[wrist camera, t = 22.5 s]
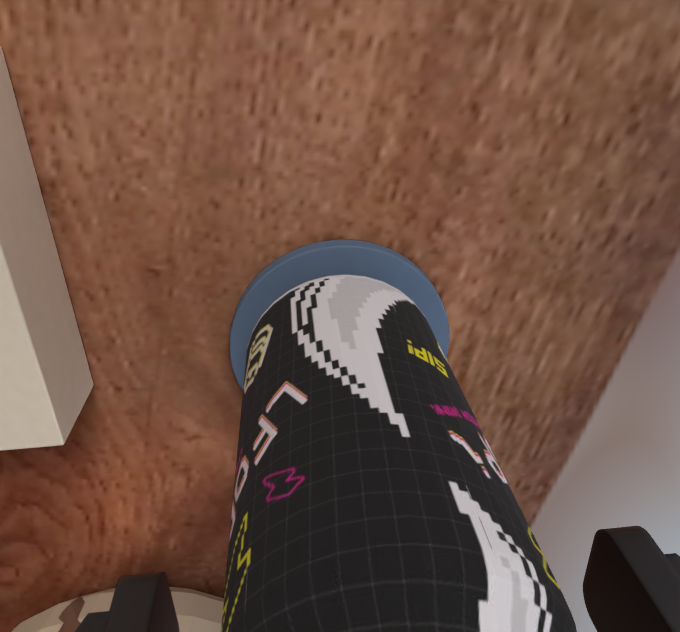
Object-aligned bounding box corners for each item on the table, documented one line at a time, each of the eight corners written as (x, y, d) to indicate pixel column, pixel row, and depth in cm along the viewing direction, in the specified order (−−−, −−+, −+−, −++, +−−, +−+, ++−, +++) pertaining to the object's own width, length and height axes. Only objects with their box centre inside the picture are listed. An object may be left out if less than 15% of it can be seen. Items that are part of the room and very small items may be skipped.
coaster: (217, 246, 17) (215, 253, 16) (451, 231, 17) (456, 238, 17) (242, 434, 20) (241, 446, 20) (439, 418, 21) (443, 428, 20)
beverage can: (290, 234, 16) (314, 636, 6) (461, 304, 18) (728, 720, 7) (220, 391, 18) (144, 892, 8) (378, 440, 20) (492, 916, 9)
